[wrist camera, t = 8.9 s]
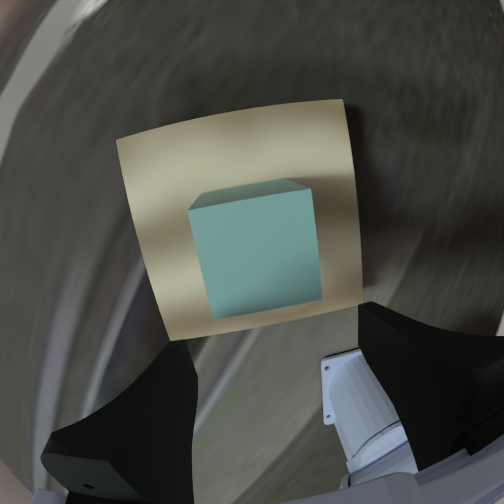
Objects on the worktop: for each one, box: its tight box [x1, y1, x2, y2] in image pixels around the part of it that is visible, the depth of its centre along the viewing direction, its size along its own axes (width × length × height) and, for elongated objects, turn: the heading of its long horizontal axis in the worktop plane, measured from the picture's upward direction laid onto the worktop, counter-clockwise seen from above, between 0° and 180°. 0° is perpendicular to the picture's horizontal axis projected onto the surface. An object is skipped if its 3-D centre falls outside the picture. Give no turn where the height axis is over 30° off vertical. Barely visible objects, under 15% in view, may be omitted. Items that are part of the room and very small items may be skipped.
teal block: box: [187, 178, 322, 320], centre depth 15 cm, size 5×5×6 cm
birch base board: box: [116, 99, 363, 341], centre depth 19 cm, size 14×14×2 cm
